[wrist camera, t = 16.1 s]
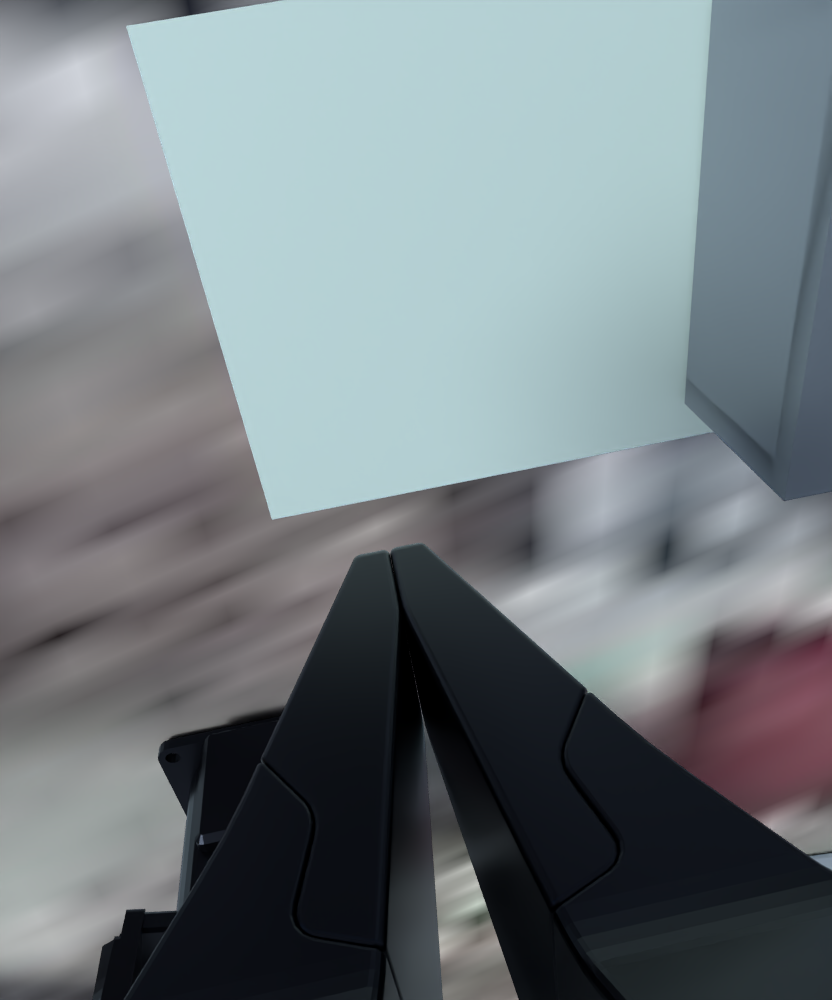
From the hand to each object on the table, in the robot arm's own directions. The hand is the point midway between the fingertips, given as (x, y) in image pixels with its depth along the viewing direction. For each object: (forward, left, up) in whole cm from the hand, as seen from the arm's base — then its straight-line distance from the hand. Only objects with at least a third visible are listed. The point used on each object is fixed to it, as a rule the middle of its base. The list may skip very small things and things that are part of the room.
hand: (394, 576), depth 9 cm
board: (0, -8, -12) cm, 14 cm away
